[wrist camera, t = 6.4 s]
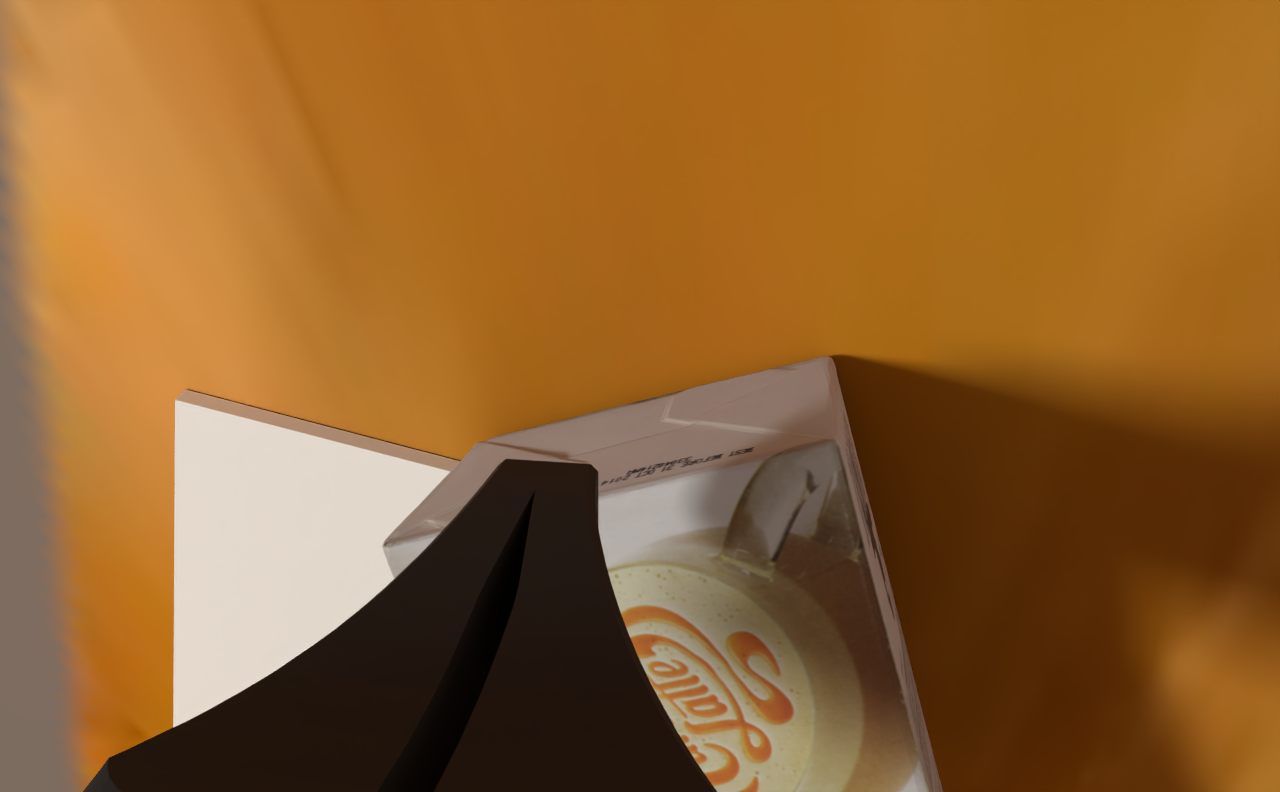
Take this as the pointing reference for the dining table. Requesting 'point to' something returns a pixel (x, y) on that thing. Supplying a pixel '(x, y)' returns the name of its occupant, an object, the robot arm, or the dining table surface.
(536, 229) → the dining table surface
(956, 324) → the dining table surface
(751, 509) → the coffee box
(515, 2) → the dining table surface
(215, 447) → the mat
